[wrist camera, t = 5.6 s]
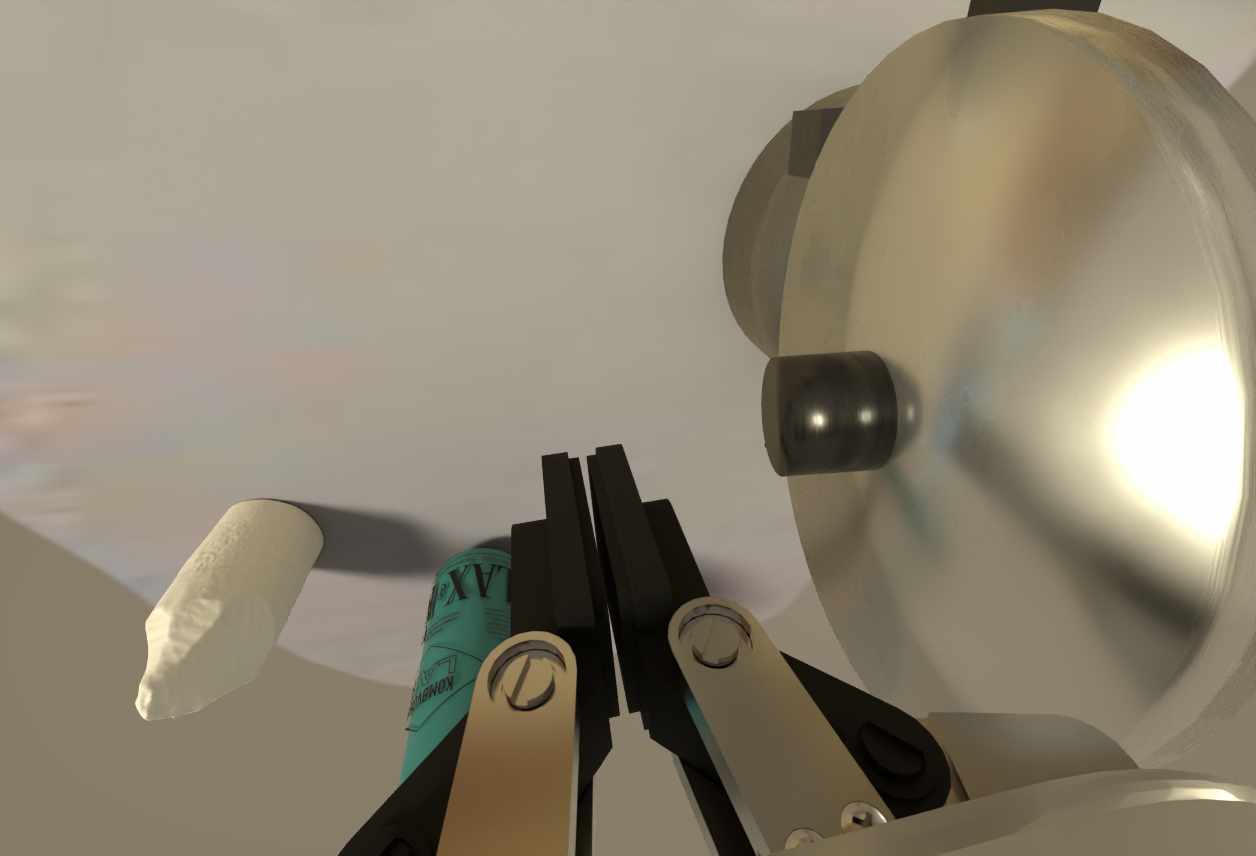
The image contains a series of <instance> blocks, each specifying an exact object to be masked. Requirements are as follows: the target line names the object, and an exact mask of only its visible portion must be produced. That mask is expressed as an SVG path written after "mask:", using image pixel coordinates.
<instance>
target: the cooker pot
mask: <svg viewBox="0 0 1256 856" xmlns="http://www.w3.org/2000/svg"><path fill="white" fill-rule="evenodd" d="M1100 3H1101V0H971V2H970V6H969V11H968V16H967V17H972V16H977V15H986V14H998V13H1010V12H1022V11H1034V10H1046V9H1061V10H1073V11H1086V12H1098V9H1099V6H1100ZM859 86H860V85H857V86H853V87H850V88H847V89H844V90H841V91H838V92H835V93H833V94H831V95H829V96H827V97H825V98H823V99H821V100H819V101H817V102H816V103H814V104H813V105H811V106H810V107H808V108H807V109H805V110H803V111H793V119H792V120H791V121H790V122H789V123H788V124H786V125H785V126H784V127H783V128H782V129H781V130H780V131H779V132H778V133H777V134H776V136H775V137H774V138H773V139H772V140H771V141H770V142H769V143H768V144H767V146H766V147H765V148H764V150H763V151H762V152H761V154H760V155H759V157H758V158H757V159H756V161H755V162H754V164H753V165H752V167H751V169H750V171H749V172H748V174H747V176H746V177H745V179H744V181H743V183H742V185H741V188H740V190H739V192H738V194H737V196H736V199H735V201H734V204H733V207H732V210H731V213H730V216H729V220H728V224H727V229H726V234H725V239H724V248H723V279H724V285H725V291H726V296H727V299H728V302H729V305H730V309H731V311H732V313H733V315H734V317H735V319H736V321H737V323H738V325H739V326H740V328H741V329H742V331H743V332H744V334H745V335H746V336H747V337H748V338H749V339H750V340H751V342H752V343H753V344H754V345H755V346H756V347H758V348H759V349H760V350H761V351H762V352H763V353H764V354H766V355H767V356H768V357H769V358H770V359H771V358H773V357H779V334H780V319H781V308H782V299H783V290H784V283H785V277H786V270H787V264H788V258H789V254H790V249H791V244H792V239H793V234H794V230H795V226H796V223H797V219H798V215H799V211H800V207H801V204H802V201H803V198H804V195H805V192H806V189H807V186H808V182H809V180H810V177H811V175H812V172H813V170H814V167H815V165H816V162H817V159H818V157H819V154H820V152H821V150H822V148H823V146H824V144H825V142H826V140H827V138H828V136H829V134H830V132H831V130H832V128H833V126H834V124H835V123H836V121H837V119H838V117H839V116H840V114H841V112H842V111H843V109H844V107H845V106H846V104H847V102H848V101H849V100H850V98H851V97H852V96H853V94H854V93H855V92H856V90H857V89H858V88H859ZM765 447H766V444H765Z"/></svg>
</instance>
